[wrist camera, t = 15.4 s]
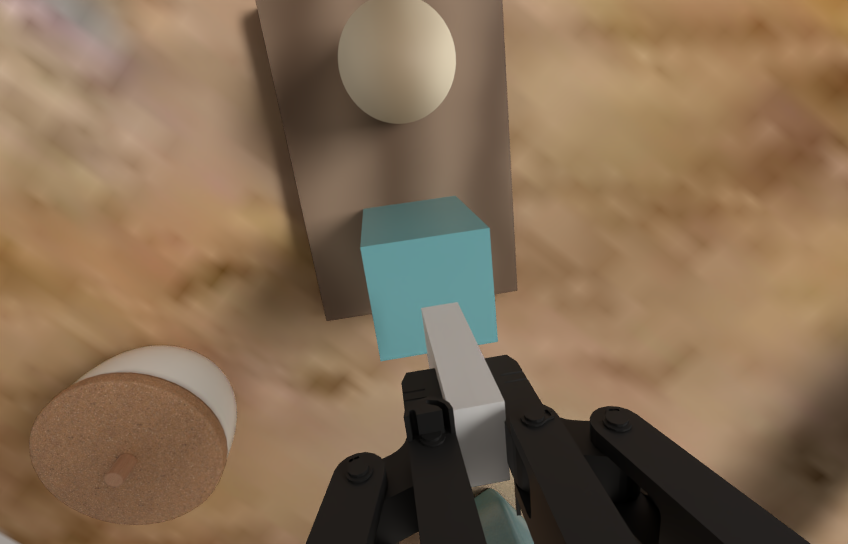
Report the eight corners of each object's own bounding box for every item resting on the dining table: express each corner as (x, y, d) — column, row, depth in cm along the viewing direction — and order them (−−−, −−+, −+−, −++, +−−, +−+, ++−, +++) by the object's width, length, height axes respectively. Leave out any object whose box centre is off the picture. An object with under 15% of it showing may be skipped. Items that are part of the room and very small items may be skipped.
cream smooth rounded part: (429, 20, 27) (449, -14, 20) (439, 115, 29) (461, 116, 22) (338, 30, 27) (326, 0, 20) (354, 127, 29) (349, 130, 22)
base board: (494, -20, 27) (500, -27, 25) (511, 283, 34) (517, 290, 32) (261, 6, 26) (255, 0, 24) (328, 312, 33) (326, 321, 31)
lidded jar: (280, 364, 34) (248, 451, 25) (213, 461, 36) (163, 572, 27) (142, 293, 31) (51, 365, 22) (79, 404, 33) (-27, 509, 24)
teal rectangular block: (455, 195, 29) (489, 227, 21) (463, 281, 32) (497, 341, 23) (363, 208, 29) (360, 247, 21) (378, 294, 31) (380, 360, 23)
